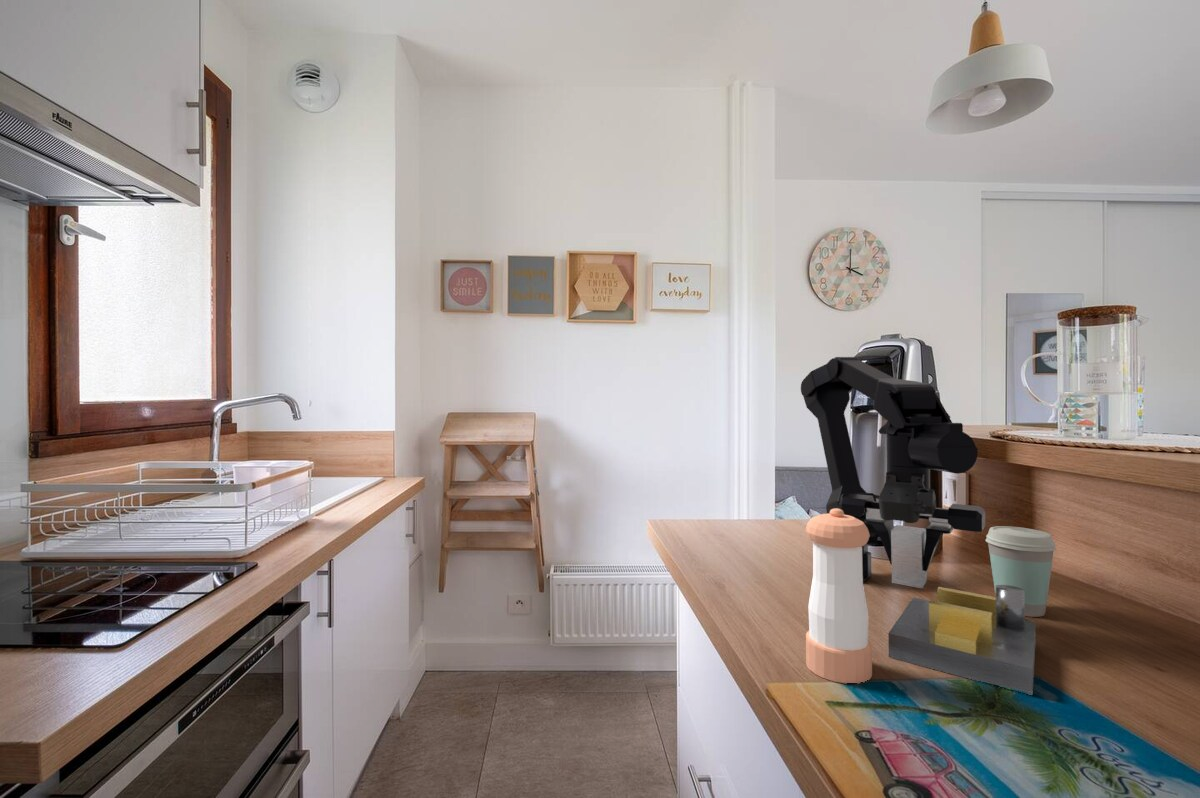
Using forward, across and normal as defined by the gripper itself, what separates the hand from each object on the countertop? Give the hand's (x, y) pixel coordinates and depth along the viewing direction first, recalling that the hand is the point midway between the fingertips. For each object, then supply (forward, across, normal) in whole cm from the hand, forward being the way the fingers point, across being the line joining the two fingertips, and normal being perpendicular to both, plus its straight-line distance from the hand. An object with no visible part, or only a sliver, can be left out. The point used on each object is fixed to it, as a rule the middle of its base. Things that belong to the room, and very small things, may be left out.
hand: (909, 567), depth 81 cm
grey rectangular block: (+2, 0, 0) cm, 2 cm away
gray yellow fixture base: (+7, +8, -10) cm, 14 cm away
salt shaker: (+7, -3, -25) cm, 26 cm away
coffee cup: (+7, +13, +12) cm, 19 cm away
